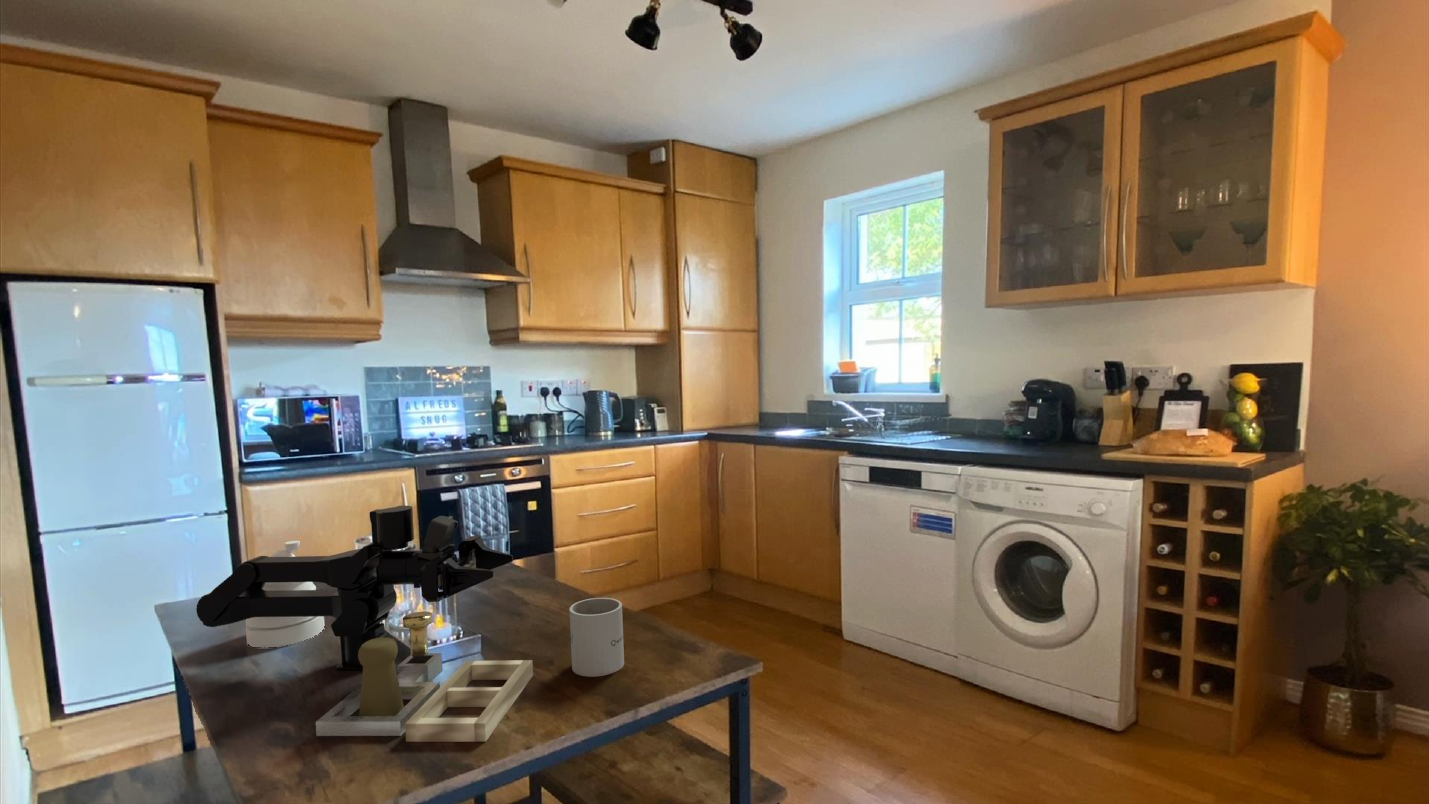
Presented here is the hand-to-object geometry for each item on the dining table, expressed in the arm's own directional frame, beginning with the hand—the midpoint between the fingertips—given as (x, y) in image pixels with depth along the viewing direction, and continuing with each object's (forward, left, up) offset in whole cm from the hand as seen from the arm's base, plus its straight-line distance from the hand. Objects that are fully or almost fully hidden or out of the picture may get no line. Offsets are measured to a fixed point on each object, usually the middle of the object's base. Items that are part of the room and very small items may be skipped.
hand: (503, 565), depth 118 cm
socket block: (-12, -14, -16) cm, 25 cm away
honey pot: (-48, +13, -17) cm, 53 cm away
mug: (+17, 0, -17) cm, 24 cm away
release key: (-12, -6, -12) cm, 19 cm away
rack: (+1, -15, -16) cm, 23 cm away
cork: (-12, -18, -17) cm, 28 cm away
